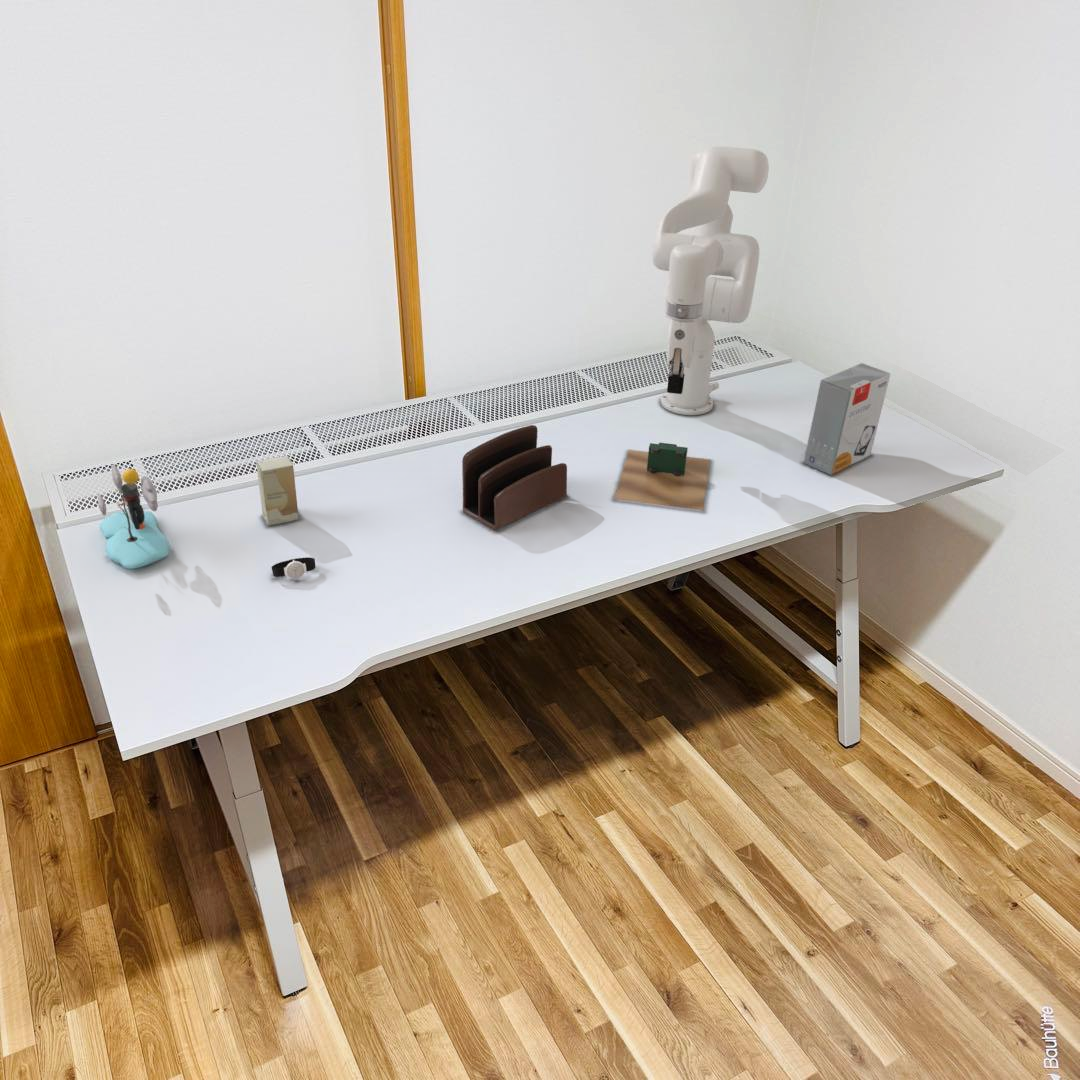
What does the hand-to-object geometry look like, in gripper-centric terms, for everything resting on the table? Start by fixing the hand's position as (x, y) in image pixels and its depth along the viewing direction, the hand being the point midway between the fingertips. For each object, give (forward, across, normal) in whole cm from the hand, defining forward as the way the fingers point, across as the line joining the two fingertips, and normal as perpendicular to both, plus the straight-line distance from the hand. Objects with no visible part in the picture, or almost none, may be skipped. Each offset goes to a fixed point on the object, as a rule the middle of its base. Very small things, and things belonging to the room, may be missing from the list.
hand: (674, 391), depth 210 cm
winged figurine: (+16, -60, +93) cm, 112 cm away
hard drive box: (+15, +8, -37) cm, 41 cm away
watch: (+16, -62, +61) cm, 88 cm away
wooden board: (+15, -11, 0) cm, 19 cm away
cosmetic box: (+16, -45, +71) cm, 86 cm away
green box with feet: (+15, -8, 0) cm, 17 cm away
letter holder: (+16, -29, +28) cm, 43 cm away
